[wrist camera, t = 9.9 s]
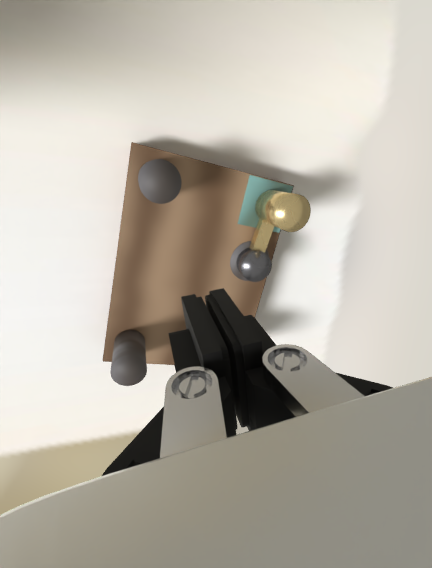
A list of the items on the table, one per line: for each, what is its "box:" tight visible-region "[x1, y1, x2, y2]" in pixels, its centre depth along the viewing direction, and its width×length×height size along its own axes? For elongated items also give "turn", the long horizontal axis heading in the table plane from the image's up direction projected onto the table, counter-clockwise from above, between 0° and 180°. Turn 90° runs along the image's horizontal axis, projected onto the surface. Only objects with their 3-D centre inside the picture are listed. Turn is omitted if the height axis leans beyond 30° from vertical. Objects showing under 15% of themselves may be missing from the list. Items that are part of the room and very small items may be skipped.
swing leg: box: [236, 190, 310, 282], centre depth 29 cm, size 9×3×5 cm, turn 162°
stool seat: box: [103, 142, 294, 386], centre depth 30 cm, size 16×22×8 cm
